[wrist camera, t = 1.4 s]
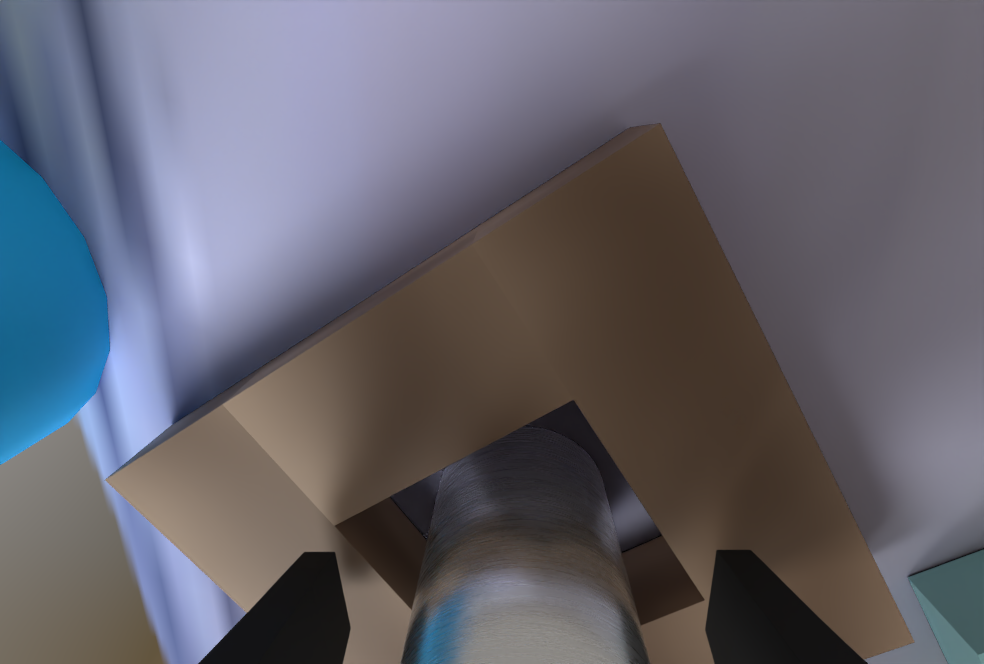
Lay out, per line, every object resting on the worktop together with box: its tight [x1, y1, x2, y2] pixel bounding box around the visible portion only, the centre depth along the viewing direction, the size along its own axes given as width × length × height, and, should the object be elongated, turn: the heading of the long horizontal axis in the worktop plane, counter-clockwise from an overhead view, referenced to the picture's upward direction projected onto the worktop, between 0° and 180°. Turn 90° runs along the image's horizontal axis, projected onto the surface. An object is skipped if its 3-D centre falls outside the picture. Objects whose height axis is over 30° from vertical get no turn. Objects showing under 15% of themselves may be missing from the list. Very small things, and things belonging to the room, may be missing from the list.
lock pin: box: [400, 426, 651, 664], centre depth 8 cm, size 5×5×8 cm
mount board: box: [105, 123, 914, 664], centre depth 11 cm, size 12×12×2 cm
